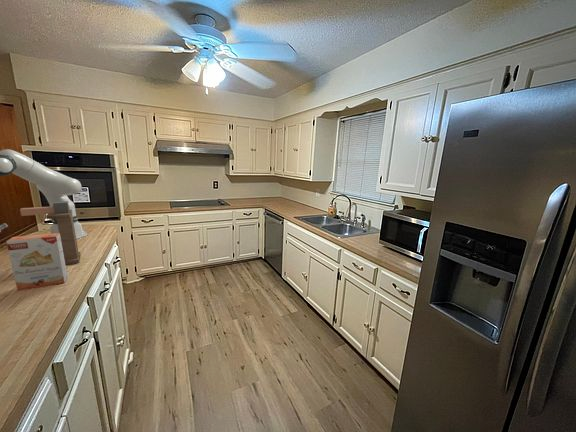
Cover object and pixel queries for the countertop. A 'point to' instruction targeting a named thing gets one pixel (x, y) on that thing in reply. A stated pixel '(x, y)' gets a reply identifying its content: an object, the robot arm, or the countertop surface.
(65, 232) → the walnut stand
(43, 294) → the countertop surface
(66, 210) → the terracotta bar
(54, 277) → the cracker box
